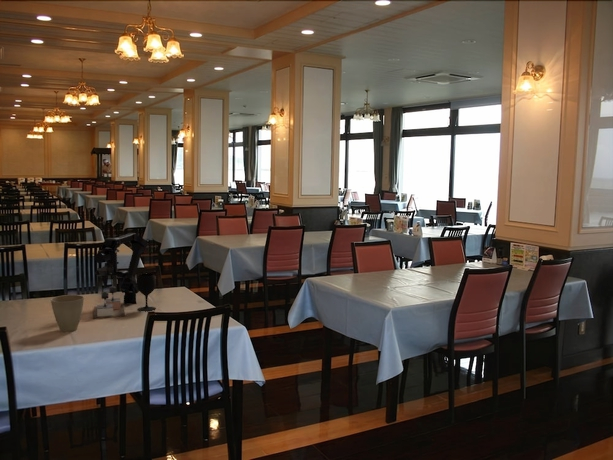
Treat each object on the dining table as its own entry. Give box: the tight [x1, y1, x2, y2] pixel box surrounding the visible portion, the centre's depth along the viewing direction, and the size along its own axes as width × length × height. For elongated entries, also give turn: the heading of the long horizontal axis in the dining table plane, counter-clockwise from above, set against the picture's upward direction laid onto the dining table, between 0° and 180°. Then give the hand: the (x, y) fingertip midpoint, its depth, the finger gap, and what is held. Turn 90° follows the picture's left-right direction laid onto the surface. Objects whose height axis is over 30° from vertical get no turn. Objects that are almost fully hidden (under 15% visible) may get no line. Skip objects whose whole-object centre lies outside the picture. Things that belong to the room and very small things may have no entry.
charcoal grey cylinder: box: [108, 286, 117, 301], centre depth 316 cm, size 4×4×8 cm
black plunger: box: [100, 291, 110, 307], centre depth 302 cm, size 4×4×8 cm
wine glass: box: [136, 272, 157, 313], centre depth 316 cm, size 10×10×20 cm
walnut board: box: [92, 304, 126, 320], centre depth 310 cm, size 16×26×1 cm, turn 20°
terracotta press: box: [106, 297, 121, 309], centre depth 317 cm, size 8×8×4 cm
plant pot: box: [50, 294, 85, 333], centre depth 273 cm, size 15×15×16 cm
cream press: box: [96, 304, 113, 317], centre depth 302 cm, size 8×8×4 cm
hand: (112, 287), depth 316 cm, fingers open, 9 cm apart
